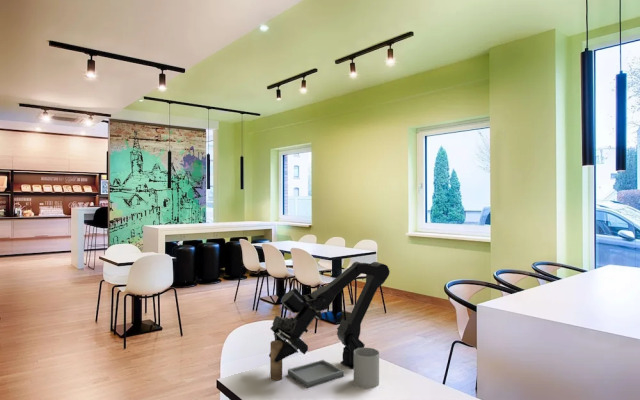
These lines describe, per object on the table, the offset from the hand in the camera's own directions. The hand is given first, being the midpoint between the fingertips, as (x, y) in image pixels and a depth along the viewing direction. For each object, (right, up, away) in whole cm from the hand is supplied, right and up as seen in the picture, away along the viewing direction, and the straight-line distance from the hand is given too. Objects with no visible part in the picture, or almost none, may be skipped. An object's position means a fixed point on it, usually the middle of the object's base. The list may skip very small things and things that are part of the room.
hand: (272, 359), depth 135 cm
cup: (+31, -7, -2) cm, 32 cm away
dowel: (+1, -7, +1) cm, 7 cm away
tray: (+14, -7, +3) cm, 16 cm away
